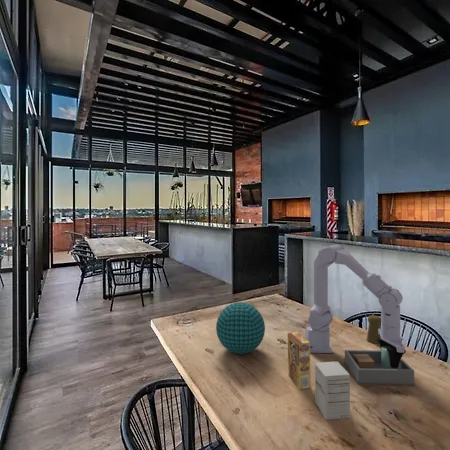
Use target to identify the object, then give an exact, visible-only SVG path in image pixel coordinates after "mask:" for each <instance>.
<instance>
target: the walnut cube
mask: <svg viewBox="0 0 450 450" xmlns="http://www.w3.org/2000/svg"><path fill="white" fill-rule="evenodd" d="M354 361H355V362H356V364H357V365H358V366H359V368H366V369H374V361H373V360H372V359H371V357H370V356H369V355H368V354H354Z"/></svg>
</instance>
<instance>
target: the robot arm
mask: <svg viewBox="0 0 450 450" xmlns="http://www.w3.org/2000/svg"><path fill="white" fill-rule="evenodd" d="M333 264H336V265H344V266H346V267H347V268H348V269H349V270H351V271H352V272H353V274H355V275H356V276H358V277H359V278H360V279H361V280H362V285H363V286H364V287H365V288H367V290H368V291H370V293H372V294H373V295H374V296H375V298H377V300H378V303H379V305H380V307H381V317H380V318H381V324H380V329H378V334H379V335H380V337H377V341H378V343H379V344H378V345H379V347H380V349H381V348H382V347H383V346H386V349H387V351H388V354H389V360H390V366H391V367H392V368H398V366H399V363H400V360H401V358H402V359H403V356H404V355H405V353H406V349H405V346H404V345H403V342H402V341H404V337H403V336H401V304H402V302H403V295H402V293H401V292H400V290H398V289H396V288H393V286H391V285H389V284H387V282H385V280H383V279H382V276H381V275H380V274H376V273H374V272H373V273H372V272H369V271H368V270H367V269H366V268H365V267H364V266H363V264H361V263H360V262H359V261H358V260H357V259H356V258H355V257H354V256H353V255H352V254H351V252H350V251H349V250H348V249H346V248H345V247H344V246H343V245H341V244H339V243H338V244H337V243H336V244H333V245H327V246H323V247H322V248H320V249H319V250H318V253H317V255H316V258H315V259H314V261H313V305H312V307H311V309H309V315H308V317H307V322H308V325H309V326H307V327H305V339H306V340H308V341H309V342H310V354H312V353H314V354H319V353H320V354H321V353H322V354H333V353H334V352H333V350H332V347H331V345H330V340H331V338H330V337H331V336H330V335H331V333H330V331H331V330H330V328H331V327H330V324H331V323H332V322H333V320H334V319H333V313H332V312H331V307H330V305H329V304H328V302H329V301H328V299H329V298H328V297H329V296H328V295H329V293H328V291H329V287H328V284H329V280H328V279H329V278H328V277H329V274H328V272H329V271H328V270H329V267H330V266H331V265H333ZM389 346H390V347H389Z"/></svg>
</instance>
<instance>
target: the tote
mask: <svg viewBox="0 0 450 450" xmlns="http://www.w3.org/2000/svg"><path fill="white" fill-rule="evenodd" d="M354 354H368V355H369V356H370V357H371V359H372V360H373V361H374V369H366V368H359V366H358V365H357V364H356V362H355V361H354ZM344 364H345V366H346V368H348V370H349V371H350V373H351V375H352V376H353V378H354V380H355V381H356V383H357V384H358V385H366V386H367V385H368V386H369V385H370V386H372V385H373V386H374V385H376V386H407V387H409V386H412V387H413V386H415V370H414V369H413V367H411V366H410V365H409V364H408V363H407V362H406V361H405V360H404V359H403V357H402V358H401V360H400V363H399V366H398V369H382V368H381V350H379V349H378V350H374V349H373V350H367V349H366V350H365V349H364V350H363V349H362V350H361V349H344Z"/></svg>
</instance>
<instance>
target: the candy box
mask: <svg viewBox="0 0 450 450" xmlns="http://www.w3.org/2000/svg"><path fill="white" fill-rule="evenodd" d="M287 361H288V363H287V364H288V377H289V378H290V379H291V380H292V382H293V383H294V384H295V386H296V387H297V388H298V390H305V389H311V387H312V386H311V384H312V383H311V353H310V342H309V341H308V340H306V337H305V336H303V335H302V334H301V333H300V332H299V331H295V332H288V333H287Z"/></svg>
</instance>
